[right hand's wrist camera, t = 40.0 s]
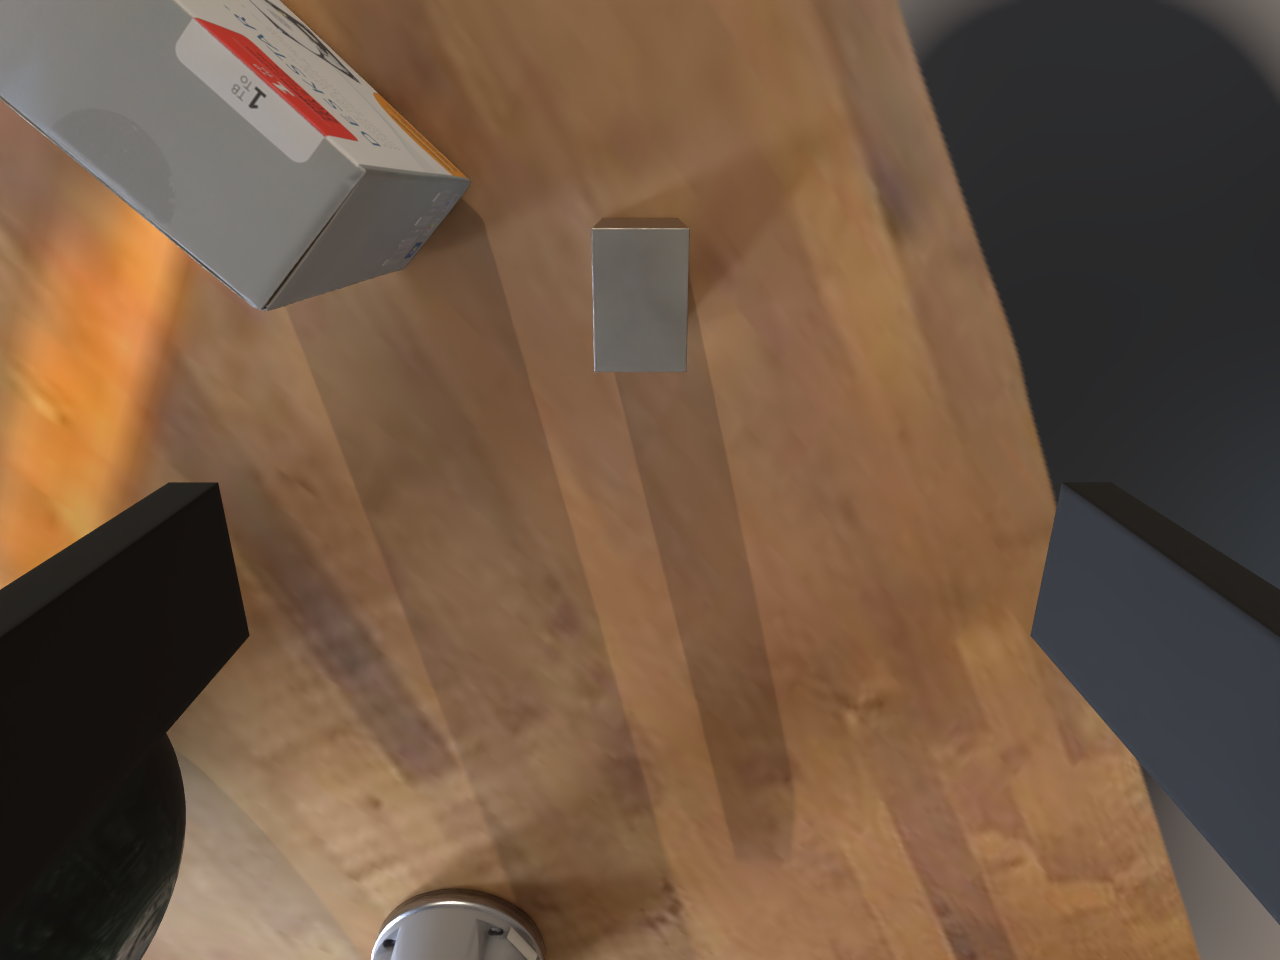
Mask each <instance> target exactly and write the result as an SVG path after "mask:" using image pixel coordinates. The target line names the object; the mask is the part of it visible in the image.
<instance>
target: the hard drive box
mask: <svg viewBox="0 0 1280 960" xmlns="http://www.w3.org/2000/svg"><path fill="white" fill-rule="evenodd" d="M0 99H1V100H2V101H3V102H4V103H6V104H7V105H8V106H9V107H10V108H12V109H13V110H14V111H15V112H16V113H18V114H19V115H20V116H21V117H23V118H24V119H25V120H26V121H27V122H29V123H30V124H31V125H32V126H34V127H35V128H36V129H37V130H39V131H40V132H41V133H42V134H43V135H45V136H46V137H47V138H48V139H50V140H51V141H52V142H53V143H55V144H56V145H57V146H58V147H59V148H61V149H62V150H63V151H64V152H65V153H67V154H68V155H69V156H70V157H71V158H73V159H74V160H75V161H76V162H77V163H79V164H80V165H81V166H82V167H83V168H85V169H86V170H87V171H88V172H89V173H91V174H92V175H93V176H94V177H95V178H97V179H98V180H99V181H100V182H102V183H103V184H104V185H105V186H107V187H108V188H109V189H110V190H111V191H112V192H114V193H115V194H116V195H117V196H118V197H120V198H121V199H122V200H123V201H124V202H126V203H127V204H128V205H129V206H130V207H132V208H133V209H134V210H135V211H136V212H138V213H139V214H140V215H141V216H142V217H144V218H145V219H146V220H147V221H148V222H150V223H151V224H152V225H153V226H154V227H156V228H157V229H158V230H159V231H160V232H162V233H163V234H164V235H165V236H166V237H168V238H169V239H170V240H171V241H172V242H174V243H175V244H176V245H177V246H178V247H180V248H181V249H182V250H183V251H184V252H186V253H187V254H188V255H189V256H190V257H192V258H193V259H194V260H195V261H196V262H197V263H199V264H200V265H201V266H202V267H204V268H205V269H206V270H207V271H209V272H210V273H211V274H212V275H213V276H215V277H216V278H217V279H218V280H220V281H221V282H222V283H223V284H225V285H226V286H227V287H228V288H230V289H231V290H232V291H233V292H235V293H236V294H237V295H239V296H240V297H241V298H242V299H244V300H245V301H246V302H248V303H249V304H250V305H251V306H253V307H254V308H257V309H263V310H265V311H269V310H273V309H277V308H280V307H282V306H287V305H289V304H292V303H295V302H297V301H302V300H304V299H307V298H310V297H313V296H317V295H320V294H324V293H326V292H330V291H334V290H336V289H341V288H343V287H346V286H350V285H352V284H356V283H358V282H361V281H365V280H368V279H371V278H374V277H377V276H380V275H384V274H388V273H391V272H394V271H399V270H403V269H404V268H405V267H406V266H407V264H408V263H409V262H410V261H411V260H412V258H413V257H414V256H415V255H416V253H417V252H418V251H419V250H420V248H421V247H422V246H423V245H424V244H425V242H426V241H427V240H428V239H429V237H430V236H431V235H432V233H433V232H434V231H435V230H436V228H437V227H438V226H439V224H440V223H441V222H442V221H443V220H444V218H445V217H446V216H447V215H448V213H449V212H450V211H451V209H452V208H453V207H454V206H455V204H456V203H457V202H458V201H459V199H460V198H461V197H462V195H463V194H464V193H465V192H466V190H467V189H468V187H469V186H470V181H469V179H468V178H467V177H466V176H465V175H464V174H463V173H462V172H461V171H460V170H459V169H457V168H456V167H455V166H454V165H453V164H452V163H451V162H450V161H449V160H448V159H447V158H446V157H445V156H444V155H443V154H442V153H440V152H439V151H438V150H437V149H436V148H435V147H434V146H433V145H432V144H431V143H430V142H429V141H428V140H427V139H426V138H425V137H424V136H423V135H422V134H421V133H419V132H418V131H417V130H416V129H415V128H414V127H413V126H412V125H411V124H410V123H409V122H408V121H407V120H406V119H405V118H404V117H403V116H402V115H400V114H399V113H398V112H397V111H396V110H395V109H394V108H393V107H392V106H391V105H390V104H389V103H388V102H387V101H386V100H385V99H384V98H383V97H381V96H380V95H379V94H378V93H377V92H376V91H375V90H374V89H373V88H372V87H371V86H370V85H369V84H368V83H367V82H366V81H365V80H364V79H363V78H361V77H360V76H359V75H358V74H357V73H356V72H355V71H354V70H353V69H352V68H351V67H350V66H349V65H348V64H347V63H346V62H345V61H344V60H343V59H341V58H340V57H339V56H338V55H337V54H336V53H335V52H334V51H333V50H332V49H331V48H330V47H329V46H328V45H327V44H326V43H325V42H324V41H322V40H321V39H320V38H319V37H318V36H317V35H316V34H315V33H314V32H313V31H312V30H311V29H310V28H309V27H308V26H307V25H306V24H305V23H304V22H303V21H301V20H300V19H299V18H298V17H297V16H296V15H295V14H294V13H293V12H292V11H290V10H289V9H288V8H287V7H286V6H285V5H284V4H283V3H282V2H281V1H280V0H0Z"/></svg>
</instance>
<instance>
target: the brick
mask: <svg viewBox="0 0 1280 960" xmlns="http://www.w3.org/2000/svg"><path fill="white" fill-rule="evenodd" d="M591 237H592V285H593V333H594V371H595V372H686V368H687V321H688V275H689V228H688V227H687V226H686V225H685V224H684V223H682V222H681V221H680V220H679V219H678V218H602V219H601V220H600V221H599V222H598V223H597V224H596V225H595V226H594V227H593V228H592V229H591Z"/></svg>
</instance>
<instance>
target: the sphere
mask: <svg viewBox="0 0 1280 960" xmlns="http://www.w3.org/2000/svg"><path fill="white" fill-rule="evenodd" d="M185 826H186V805H185V794H184V787H183V781H182V776H181V771H180V768H179V764H178V760H177V757H176V754H175V752H174V749H173V746H172V744H171V742H170V740H169V738H168V736H167V734H166V733H165V734H164V736H163V737H162V738H161V739H160V740H159V741H158V742H157V744H156V745H155V746H154V747H153V748H152V749H151V751H150V752H149V753H148V754H147V755H146V756H145V758H144V759H143V760H142V761H141V762H140V763H139V765H138V766H137V767H136V768H135V769H134V770H133V771H132V773H131V774H130V775H129V776H128V777H127V778H126V780H125V781H124V782H123V783H122V784H121V785H120V787H119V788H118V789H117V790H116V791H115V792H114V794H113V795H112V796H111V797H110V798H109V799H108V801H107V802H106V803H105V804H104V805H103V806H102V807H101V809H100V810H99V811H98V812H97V813H96V814H95V816H94V817H93V818H92V819H91V820H90V821H89V823H88V824H87V825H86V826H85V827H84V828H83V830H82V831H81V832H80V833H79V834H78V835H77V836H76V838H75V839H74V840H73V841H72V842H71V843H70V845H69V846H68V847H67V848H66V849H65V850H64V852H63V853H62V854H61V855H60V856H59V857H58V859H57V860H56V861H55V862H54V863H53V864H52V865H51V867H50V868H49V869H48V870H47V871H46V872H45V874H44V875H43V876H42V877H41V878H40V879H39V881H38V882H37V883H36V884H35V885H34V886H33V888H32V889H31V890H30V891H29V892H28V893H27V894H26V896H25V897H24V898H23V899H22V900H21V901H20V903H19V904H18V905H17V906H16V907H15V908H14V910H13V911H12V912H11V913H10V914H9V915H8V917H7V918H6V919H5V920H4V921H3V922H2V923H1V925H0V960H141V959H142V957H143V955H144V954H145V952H146V950H147V948H148V947H149V945H150V943H151V941H152V939H153V937H154V936H155V934H156V932H157V929H158V927H159V925H160V923H161V921H162V918H163V916H164V914H165V911H166V909H167V907H168V904H169V901H170V898H171V896H172V893H173V890H174V887H175V883H176V880H177V877H178V873H179V868H180V863H181V858H182V853H183V847H184V839H185Z"/></svg>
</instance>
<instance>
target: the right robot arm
mask: <svg viewBox="0 0 1280 960" xmlns="http://www.w3.org/2000/svg"><path fill="white" fill-rule="evenodd" d="M248 637H249V631H248V626H247V621H246V616H245V611H244V606H243V602H242V597H241V592H240V587H239V582H238V577H237V572H236V567H235V563H234V558H233V553H232V548H231V543H230V538H229V533H228V528H227V524H226V519H225V514H224V509H223V504H222V499H221V494H220V489H219V485H218V483H167V484H166V485H164V486H163V487H161V488H160V489H158V490H156V491H155V492H153V493H152V494H150V495H149V496H147V497H145V498H144V499H142V500H141V501H139V502H138V503H136V504H134V505H133V506H131V507H130V508H128V509H127V510H125V511H123V512H122V513H120V514H119V515H117V516H116V517H114V518H112V519H111V520H109V521H108V522H106V523H105V524H103V525H101V526H100V527H98V528H97V529H95V530H94V531H92V532H90V533H89V534H87V535H86V536H84V537H83V538H81V539H79V540H78V541H76V542H75V543H73V544H72V545H70V546H68V547H67V548H65V549H64V550H62V551H61V552H59V553H57V554H56V555H54V556H53V557H51V558H50V559H48V560H46V561H45V562H43V563H42V564H40V565H39V566H37V567H35V568H34V569H32V570H31V571H29V572H28V573H26V574H24V575H23V576H21V577H20V578H18V579H17V580H15V581H13V582H12V583H10V584H9V585H7V586H6V587H4V588H2V589H1V590H0V925H1V923H2V922H3V921H4V920H5V919H6V918H7V917H8V915H9V914H10V913H11V912H12V911H13V910H14V908H15V907H16V906H17V905H18V904H19V903H20V901H21V900H22V899H23V898H24V897H25V896H26V894H27V893H28V892H29V891H30V890H31V889H32V888H33V886H34V885H35V884H36V883H37V882H38V881H39V879H40V878H41V877H42V876H43V875H44V874H45V872H46V871H47V870H48V869H49V868H50V867H51V865H52V864H53V863H54V862H55V861H56V860H57V859H58V857H59V856H60V855H61V854H62V853H63V852H64V850H65V849H66V848H67V847H68V846H69V845H70V843H71V842H72V841H73V840H74V839H75V838H76V836H77V835H78V834H79V833H80V832H81V831H82V830H83V828H84V827H85V826H86V825H87V824H88V823H89V821H90V820H91V819H92V818H93V817H94V816H95V814H96V813H97V812H98V811H99V810H100V809H101V807H102V806H103V805H104V804H105V803H106V802H107V801H108V799H109V798H110V797H111V796H112V795H113V794H114V792H115V791H116V790H117V789H118V788H119V787H120V785H121V784H122V783H123V782H124V781H125V780H126V778H127V777H128V776H129V775H130V774H131V773H132V771H133V770H134V769H135V768H136V767H137V766H138V765H139V763H140V762H141V761H142V760H143V759H144V758H145V756H146V755H147V754H148V753H149V752H150V751H151V749H152V748H153V747H154V746H155V745H156V744H157V742H158V741H159V740H160V739H161V738H162V737H163V736H164V734H165V733H166V732H167V731H168V730H169V729H170V727H171V726H172V725H173V724H174V723H175V722H176V720H177V719H178V718H179V717H180V716H181V715H182V713H183V712H184V711H185V710H186V709H187V708H188V707H189V705H190V704H191V703H192V702H193V701H194V700H195V698H196V697H197V696H198V695H199V694H200V693H201V691H202V690H203V689H204V688H205V687H206V686H207V684H208V683H209V682H210V681H211V680H212V679H213V678H214V676H215V675H216V674H217V673H218V672H219V671H220V669H221V668H222V667H223V666H224V665H225V664H226V662H227V661H228V660H229V659H230V658H231V657H232V655H233V654H234V653H235V652H236V651H237V650H238V649H239V647H240V646H241V645H242V644H243V643H244V642H245V640H246V639H247V638H248ZM1031 637H1032V638H1033V639H1034V640H1035V642H1036V643H1037V644H1038V645H1039V646H1040V647H1041V649H1042V650H1043V651H1044V652H1045V653H1046V654H1047V655H1048V657H1049V658H1050V659H1051V660H1052V661H1053V662H1054V664H1055V665H1056V666H1057V667H1058V668H1059V669H1060V671H1061V672H1062V673H1063V674H1064V675H1065V676H1066V678H1067V679H1068V680H1069V681H1070V682H1071V683H1072V684H1073V686H1074V687H1075V688H1076V689H1077V690H1078V691H1079V693H1080V694H1081V695H1082V696H1083V697H1084V698H1085V700H1086V701H1087V702H1088V703H1089V704H1090V705H1091V707H1092V708H1093V709H1094V710H1095V711H1096V712H1097V713H1098V715H1099V716H1100V717H1101V718H1102V719H1103V720H1104V722H1105V723H1106V724H1107V725H1108V726H1109V727H1110V729H1111V730H1112V731H1113V732H1114V733H1115V734H1116V736H1117V737H1118V738H1119V739H1120V740H1121V741H1122V742H1123V744H1124V745H1125V746H1126V747H1127V748H1128V749H1129V751H1130V752H1131V753H1132V754H1133V755H1134V756H1135V758H1136V759H1137V760H1138V761H1139V762H1140V763H1141V765H1142V766H1143V767H1144V768H1145V769H1146V770H1147V772H1148V773H1149V774H1150V775H1151V776H1152V777H1153V778H1154V780H1155V781H1156V782H1157V783H1158V784H1159V785H1160V786H1161V788H1162V789H1163V790H1164V791H1165V792H1166V794H1167V795H1168V796H1169V797H1170V798H1171V799H1172V800H1173V802H1174V803H1175V804H1176V805H1177V806H1178V807H1179V809H1180V810H1181V811H1182V812H1183V813H1184V814H1185V816H1186V817H1187V818H1188V819H1189V820H1190V821H1191V823H1192V824H1193V825H1194V826H1195V827H1196V828H1197V829H1198V831H1199V832H1200V833H1201V834H1202V835H1203V836H1204V838H1205V839H1206V840H1207V841H1208V842H1209V843H1210V845H1211V846H1212V847H1213V848H1214V849H1215V850H1216V852H1217V853H1218V854H1219V855H1220V856H1221V857H1222V858H1223V860H1224V861H1225V862H1226V863H1227V864H1228V865H1229V867H1230V868H1231V869H1232V870H1233V871H1234V872H1235V874H1236V875H1237V876H1238V877H1239V878H1240V879H1241V881H1242V882H1243V883H1244V884H1245V885H1246V886H1247V887H1248V889H1249V890H1250V891H1251V892H1252V893H1253V894H1254V896H1255V897H1256V898H1257V899H1258V900H1259V901H1260V903H1261V904H1262V905H1263V906H1264V907H1265V908H1266V910H1267V911H1268V912H1269V913H1270V914H1271V915H1272V917H1273V918H1274V919H1275V920H1276V921H1277V922H1278V923H1279V925H1280V590H1279V589H1278V588H1276V587H1274V586H1273V585H1271V584H1270V583H1268V582H1267V581H1265V580H1263V579H1262V578H1260V577H1259V576H1257V575H1256V574H1254V573H1252V572H1251V571H1249V570H1248V569H1246V568H1245V567H1243V566H1241V565H1240V564H1238V563H1237V562H1235V561H1234V560H1232V559H1230V558H1229V557H1227V556H1226V555H1224V554H1223V553H1221V552H1219V551H1218V550H1216V549H1215V548H1213V547H1212V546H1210V545H1208V544H1207V543H1205V542H1204V541H1202V540H1201V539H1199V538H1197V537H1196V536H1194V535H1193V534H1191V533H1190V532H1188V531H1186V530H1185V529H1183V528H1182V527H1180V526H1179V525H1177V524H1175V523H1174V522H1172V521H1171V520H1169V519H1168V518H1166V517H1164V516H1163V515H1161V514H1160V513H1158V512H1157V511H1155V510H1153V509H1152V508H1150V507H1149V506H1147V505H1146V504H1144V503H1142V502H1141V501H1139V500H1138V499H1136V498H1135V497H1133V496H1131V495H1130V494H1128V493H1127V492H1125V491H1124V490H1122V489H1120V488H1119V487H1117V486H1116V485H1114V484H1113V483H1062V485H1061V489H1060V494H1059V499H1058V504H1057V509H1056V514H1055V519H1054V524H1053V528H1052V533H1051V538H1050V543H1049V548H1048V553H1047V558H1046V563H1045V567H1044V572H1043V577H1042V582H1041V587H1040V592H1039V597H1038V602H1037V606H1036V611H1035V616H1034V621H1033V626H1032V631H1031ZM544 958H545V949H544V944H543V940H542V937H541V935H540V933H539V931H538V929H537V928H536V926H535V925H534V923H533V922H532V921H531V920H530V919H529V918H528V917H527V916H526V915H525V914H524V913H523V912H522V911H521V910H519V909H518V908H517V907H515V906H514V905H512V904H510V903H509V902H507V901H505V900H503V899H500V898H498V897H495V896H493V895H490V894H486V893H483V892H478V891H473V890H465V889H445V890H437V891H431V892H427V893H424V894H421V895H418V896H415V897H413V898H411V899H409V900H407V901H405V902H404V903H402V904H401V905H399V906H398V907H397V908H395V909H394V910H393V911H392V912H391V913H390V914H389V916H388V917H387V918H386V920H385V921H384V923H383V925H382V927H381V929H380V932H379V935H378V938H377V940H376V943H375V946H374V949H373V953H372V960H544Z"/></svg>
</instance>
